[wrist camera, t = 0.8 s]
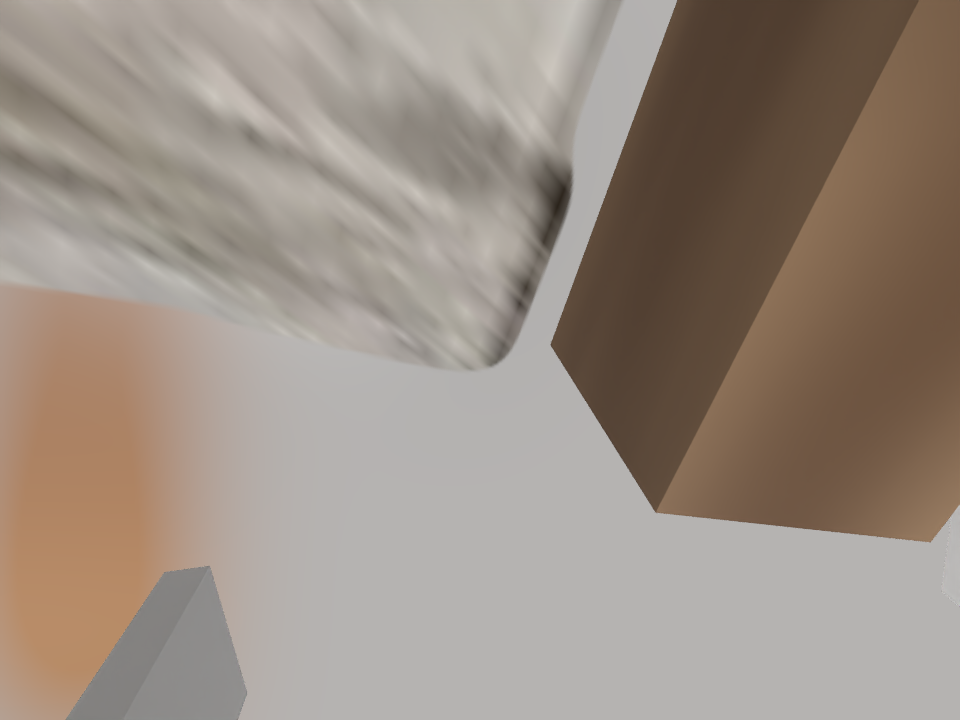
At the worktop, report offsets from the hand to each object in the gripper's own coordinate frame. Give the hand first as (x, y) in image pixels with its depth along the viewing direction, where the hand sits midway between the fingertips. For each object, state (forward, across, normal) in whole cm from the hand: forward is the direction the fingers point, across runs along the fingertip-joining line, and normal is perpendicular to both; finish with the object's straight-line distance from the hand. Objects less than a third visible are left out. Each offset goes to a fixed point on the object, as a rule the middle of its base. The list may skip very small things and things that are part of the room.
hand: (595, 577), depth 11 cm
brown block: (-2, +6, +15) cm, 16 cm away
